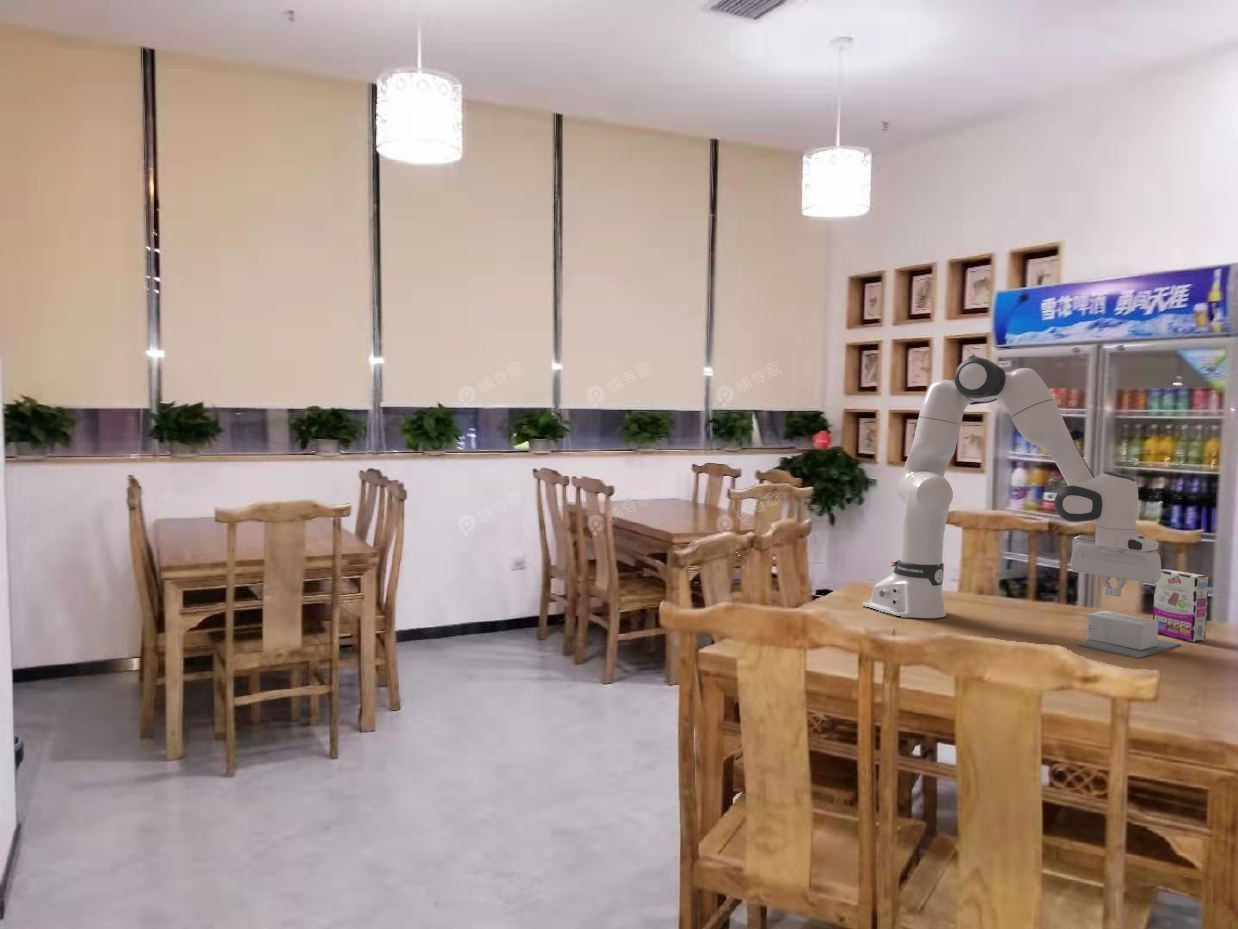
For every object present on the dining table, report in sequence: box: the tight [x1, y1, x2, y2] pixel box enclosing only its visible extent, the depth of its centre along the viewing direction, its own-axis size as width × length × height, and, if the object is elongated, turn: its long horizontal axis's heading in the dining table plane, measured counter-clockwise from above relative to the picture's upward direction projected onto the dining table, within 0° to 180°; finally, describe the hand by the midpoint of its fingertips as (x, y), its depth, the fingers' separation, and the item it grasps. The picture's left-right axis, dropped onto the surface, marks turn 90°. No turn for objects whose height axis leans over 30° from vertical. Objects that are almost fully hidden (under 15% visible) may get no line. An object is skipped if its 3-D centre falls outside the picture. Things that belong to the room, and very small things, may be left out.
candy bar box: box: [1152, 568, 1210, 643], centre depth 233 cm, size 11×5×16 cm, turn 23°
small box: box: [1086, 610, 1159, 650], centre depth 225 cm, size 8×6×13 cm
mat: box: [1077, 638, 1181, 660], centre depth 224 cm, size 14×22×1 cm, turn 127°
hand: (1112, 595), depth 227 cm, fingers closed
